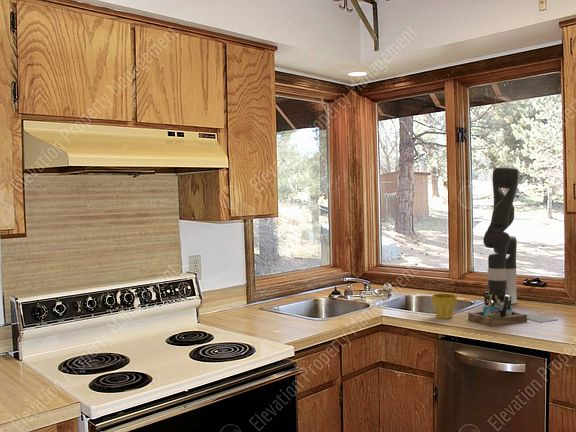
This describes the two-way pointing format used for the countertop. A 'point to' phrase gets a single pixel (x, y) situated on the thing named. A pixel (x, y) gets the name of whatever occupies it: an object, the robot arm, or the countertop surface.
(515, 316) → the tray
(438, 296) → the plant pot
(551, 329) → the countertop surface
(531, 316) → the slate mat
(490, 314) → the snack box
